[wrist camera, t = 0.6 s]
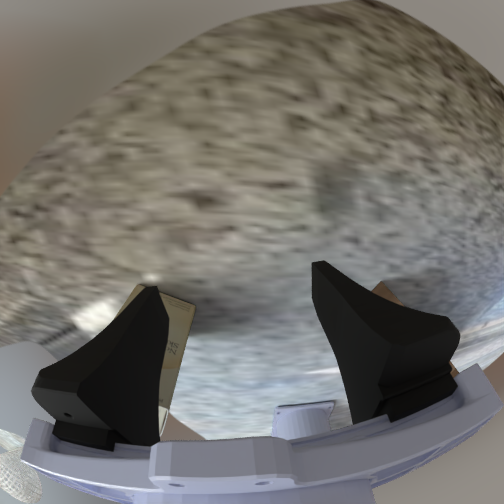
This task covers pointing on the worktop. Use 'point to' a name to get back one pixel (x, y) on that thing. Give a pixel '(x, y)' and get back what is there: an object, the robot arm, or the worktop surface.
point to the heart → (9, 454)
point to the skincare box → (170, 347)
